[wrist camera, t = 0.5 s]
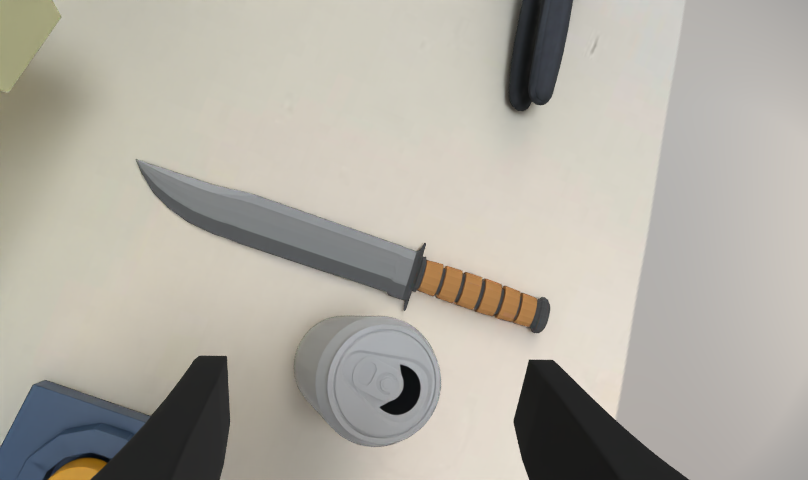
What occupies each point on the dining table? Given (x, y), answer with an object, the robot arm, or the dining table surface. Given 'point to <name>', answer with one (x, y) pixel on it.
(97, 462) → the trigger button
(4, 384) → the dining table surface
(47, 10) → the slatted curved stool
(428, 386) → the beverage can
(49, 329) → the dining table surface
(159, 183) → the knife
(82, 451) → the button housing
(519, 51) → the can opener
